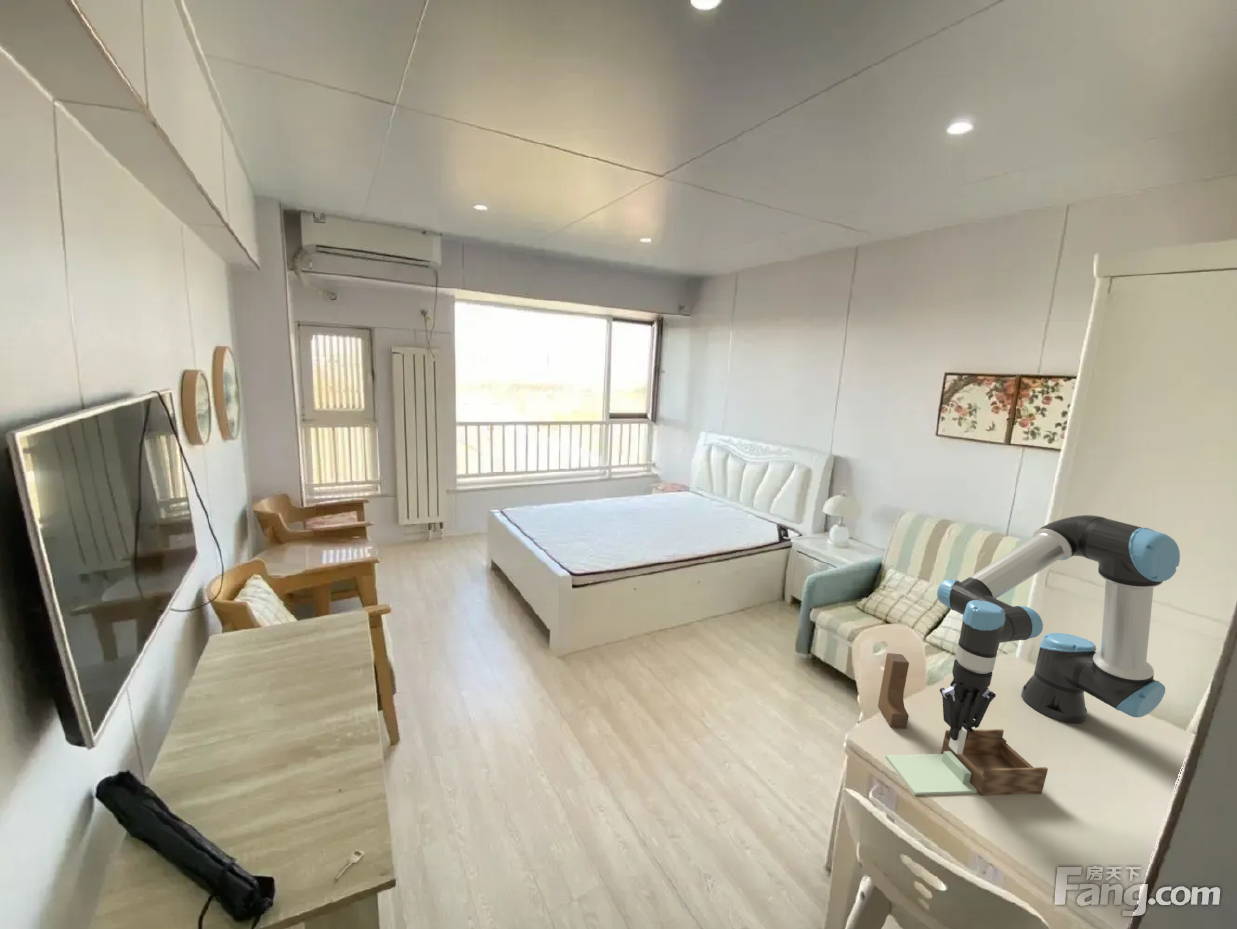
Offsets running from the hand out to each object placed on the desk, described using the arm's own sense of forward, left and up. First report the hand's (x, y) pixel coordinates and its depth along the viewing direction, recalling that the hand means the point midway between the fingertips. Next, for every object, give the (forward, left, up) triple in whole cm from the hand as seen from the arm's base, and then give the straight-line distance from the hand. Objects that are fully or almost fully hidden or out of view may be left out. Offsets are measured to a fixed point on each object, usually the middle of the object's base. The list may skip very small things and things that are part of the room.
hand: (955, 749), depth 122 cm
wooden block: (+2, -20, -7) cm, 21 cm away
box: (-10, 0, -7) cm, 13 cm away
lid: (+6, 0, -8) cm, 9 cm away
